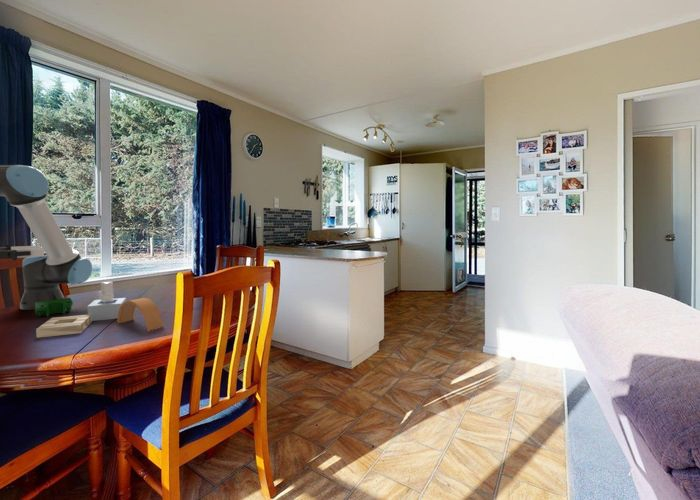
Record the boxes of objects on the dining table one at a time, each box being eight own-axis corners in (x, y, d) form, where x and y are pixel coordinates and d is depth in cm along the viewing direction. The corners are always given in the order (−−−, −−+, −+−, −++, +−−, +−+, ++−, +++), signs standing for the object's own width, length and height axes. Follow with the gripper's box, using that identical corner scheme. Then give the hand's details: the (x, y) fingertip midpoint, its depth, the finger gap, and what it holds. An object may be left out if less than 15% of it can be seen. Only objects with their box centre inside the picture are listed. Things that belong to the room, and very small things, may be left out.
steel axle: (103, 315, 139) (101, 282, 137) (115, 314, 140) (113, 281, 139) (101, 317, 135) (99, 283, 134) (113, 316, 137) (111, 283, 136)
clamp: (44, 327, 136) (32, 310, 131) (41, 321, 139) (29, 304, 135) (78, 311, 143) (68, 295, 138) (75, 305, 147) (64, 289, 142)
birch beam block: (52, 325, 125) (51, 317, 124) (91, 321, 130) (91, 314, 130) (36, 337, 112) (36, 329, 112) (81, 333, 117) (80, 324, 117)
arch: (147, 332, 119) (146, 304, 119) (117, 323, 129) (116, 297, 128) (163, 327, 125) (162, 301, 124) (133, 319, 134) (132, 295, 133)
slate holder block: (95, 314, 140) (94, 300, 140) (126, 311, 145) (125, 297, 145) (88, 321, 130) (87, 306, 130) (121, 318, 135) (121, 303, 135)
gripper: (-54, 263, 109) (34, 258, 125) (-53, 272, 93) (47, 264, 110) (-57, 241, 108) (33, 238, 125) (-56, 245, 93) (46, 242, 109)
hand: (40, 250), depth 117 cm, fingers open, 13 cm apart
